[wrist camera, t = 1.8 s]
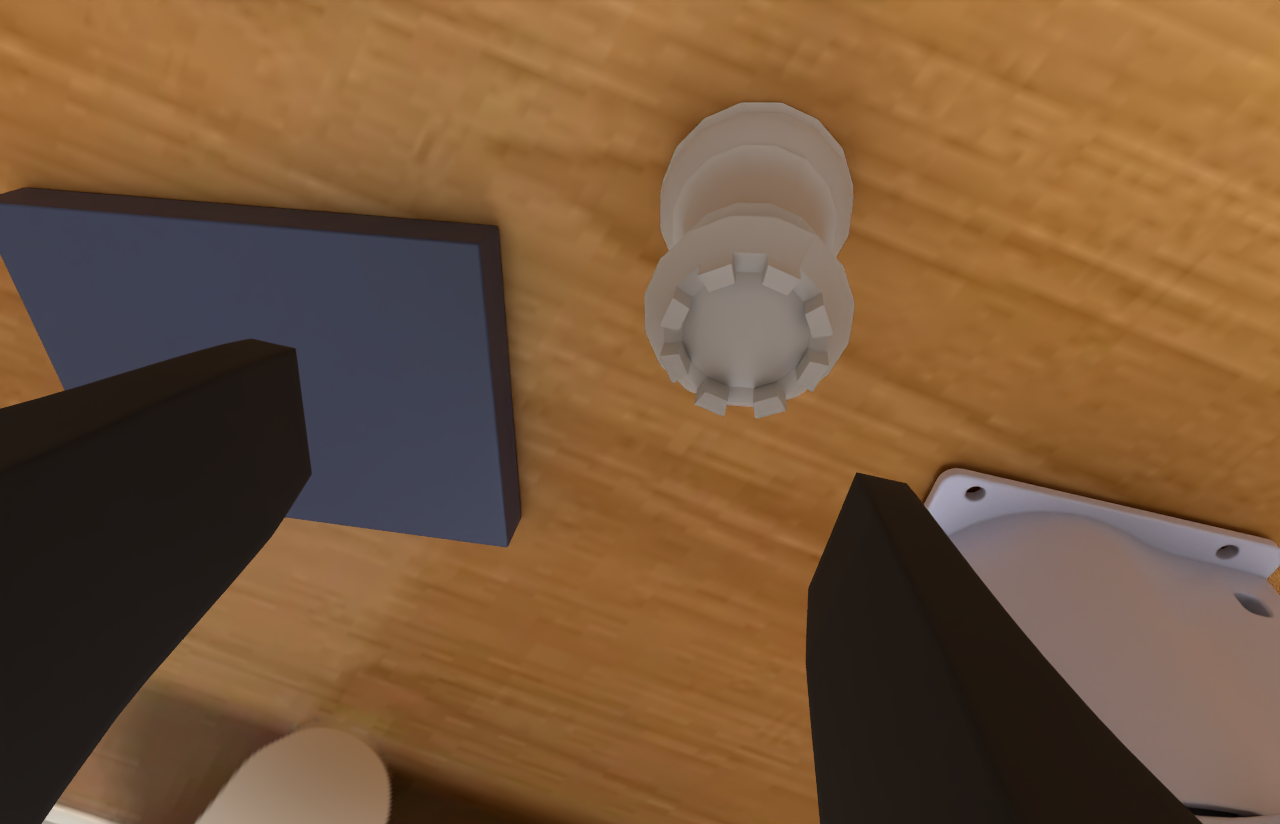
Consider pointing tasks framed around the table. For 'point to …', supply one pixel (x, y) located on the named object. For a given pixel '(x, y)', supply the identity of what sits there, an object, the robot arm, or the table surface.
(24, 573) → the robot arm
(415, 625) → the table surface
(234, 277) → the notebook
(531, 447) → the table surface
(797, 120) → the rook chess piece
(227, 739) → the table surface
